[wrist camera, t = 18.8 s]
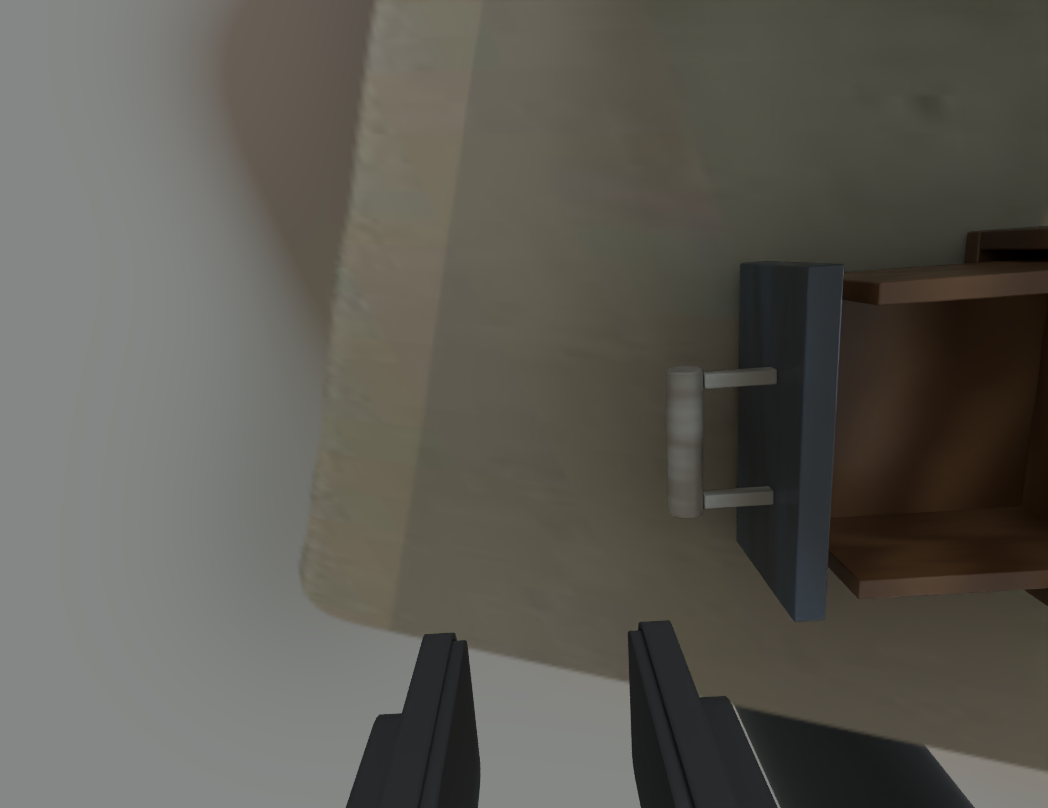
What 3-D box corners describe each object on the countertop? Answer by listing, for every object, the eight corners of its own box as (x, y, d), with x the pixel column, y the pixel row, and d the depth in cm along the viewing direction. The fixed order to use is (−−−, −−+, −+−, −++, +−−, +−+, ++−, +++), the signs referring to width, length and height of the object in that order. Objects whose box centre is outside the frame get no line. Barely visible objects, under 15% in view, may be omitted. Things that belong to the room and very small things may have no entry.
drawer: (650, 546, 30) (684, 628, 23) (644, 269, 27) (681, 275, 20) (1015, 524, 30) (1154, 602, 23) (1053, 239, 26) (1227, 236, 20)
